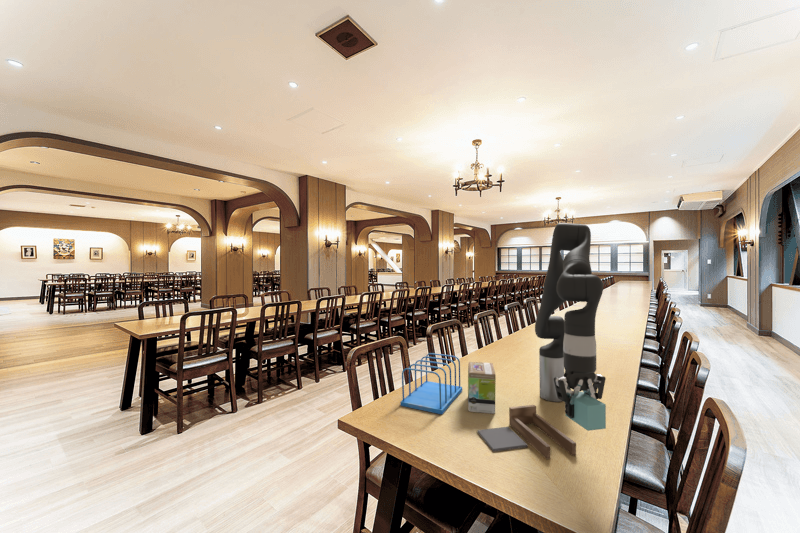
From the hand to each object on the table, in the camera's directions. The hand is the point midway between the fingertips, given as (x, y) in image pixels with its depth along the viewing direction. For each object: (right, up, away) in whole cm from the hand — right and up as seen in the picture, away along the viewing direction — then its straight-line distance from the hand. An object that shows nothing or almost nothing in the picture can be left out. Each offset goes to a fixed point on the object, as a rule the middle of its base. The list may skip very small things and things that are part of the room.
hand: (579, 415), depth 85 cm
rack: (-3, -15, +17) cm, 23 cm away
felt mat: (-15, -15, +17) cm, 27 cm away
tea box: (-15, -15, +42) cm, 47 cm away
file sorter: (-33, -15, +49) cm, 61 cm away
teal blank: (0, -1, -2) cm, 2 cm away
